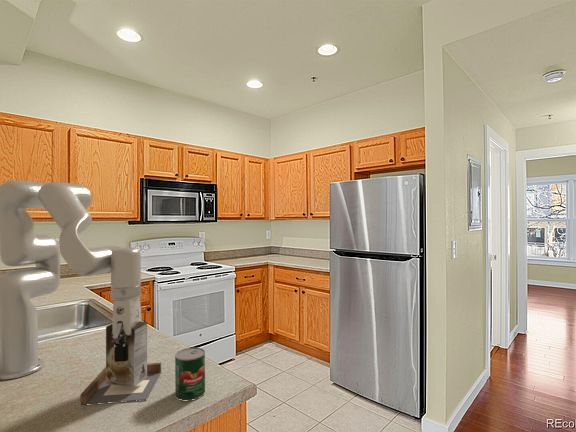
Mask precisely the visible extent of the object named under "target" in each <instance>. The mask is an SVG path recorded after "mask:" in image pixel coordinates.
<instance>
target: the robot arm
mask: <svg viewBox="0 0 576 432" xmlns="http://www.w3.org/2000/svg"><path fill="white" fill-rule="evenodd" d="M92 201H93V197H92V193H91V191H90V190H89V188H87V186H84V185H82V184H80V183H79V184H78V183H72V182H71V183H69V182H61V181H52V182H39V181H33V180H32V181H31V180H9V181H6V182H3V183H2V184H0V260H1V262H2V263H3V264H4V265H5V266H8V267H21V266H29V265H35V267H32V268H24V269H18V270H12V271H8V272H5V273H4V274H1V275H0V380H4V381H5V380H12V379H17V378H21V377H25V376H28V375H31V374H33V373H36V372H37V371H39V370H41V369H42V368H43V367H44V366H45V360H44V359H42V358H39V328H38V327H39V325H38V324H39V323H38V320H39V319H38V316H39V315H38V310H37V307H36V306H35V305H34V304H33V303H32V301H31V300H30V299H33V298H37V297H38V298H39V297H42V296H46V295H49V294H52V293H54V292H55V291H57V289H58V288H59V286H60V283H61V256H62V259H63V260H64V261H65V262H66V264H67V265H68V267H69V268H70V270H72V271H73V272H74V273H75V274H77V275H78V276H81V277H91V276H95V275H102V274H107V273H110V282H111V283H110V286H111V287H110V299H111V300H112V301H113V305H112V323H111V324H112V328H113V340H114V348H115V362H121V361H127V360H128V345H127V346H126V344H127V335H129V336H131V335H132V328H133V327H134V326H135V325H136V324H137V323H138V322H139V321H142V307H141V296H142V276H141V275H142V274H141V273H142V271H141V270H142V268H141V266H142V265H141V263H142V262H141V257H142V256H141V255H142V254H141V251H140V249H139V248H137V247H129V246H128V247H121V246H116V245H108V246H100V247H99V246H98V247H90V248H89V247H88V248H87V246H86V245H85V244H84V243H83V242H82V240H81V239H80V237H79V234H81V233H82V232H84V231H85V230H86V229H87V228H89V226H90V225H91V224H92V221H93V217H92V215H91V214H90V212H89V211H88V210H87V209H88V208H90V206H91V205H92V203H93V202H92ZM26 209H41V210H42V209H44V210H45V209H46V211H47V213H48V214H49V215H50V217H51V218H52V219H53V220H54V222H55V224H56V226H57V227H58V228H59V229H60V230H61V231H60V235H59V237H58V241H57V240H56V238H54V237H53V236H52V235H48V234H35V224H34V220H33V218H32V216H31V215H30V214H29V212H28V211H27V210H26ZM142 322H143V321H142ZM123 329H124V332H125V334H121V332H122V330H123ZM122 337H124V341H123V340H122V339H120V338H122Z"/></svg>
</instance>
